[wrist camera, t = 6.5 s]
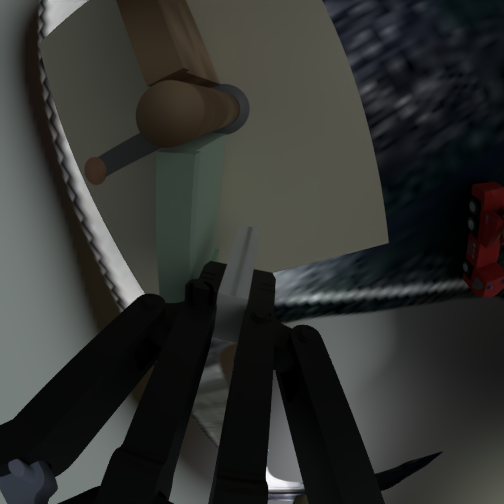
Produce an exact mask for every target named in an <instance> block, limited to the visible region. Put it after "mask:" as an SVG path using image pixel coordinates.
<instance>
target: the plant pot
mask: <svg viewBox="0 0 504 504" xmlns="http://www.w3.org/2000/svg"><path fill="white" fill-rule="evenodd" d="M293 504H309V503H308V500H307V496H306V495H298V496H296V498H295V499H294V501H293Z"/></svg>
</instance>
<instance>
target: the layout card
mask: <svg viewBox="0 0 504 504" xmlns="http://www.w3.org/2000/svg"><path fill="white" fill-rule="evenodd" d="M186 2H187V4H188V7H189V9H190V11H191V14H192V16H193V18H194V21H195V23H196V25H197V28H198V30H199V33H200V35H201V37H202V40H203V42H204V45H205V47H206V49H207V52H208V54H209V57H210V59H211V62H212V64H213V67H214V69H215V72H216V74H217V77H218V79H219V82H220V85H217V86H215V87H212V88H211V89H215V90H219V91H223V92H226V93H230V94H232V95H233V96H235V97H236V98H237V100H238V102H239V104H240V114H239V116H238V118H237V119H236V121H235V122H233V123H232V124H230V125H228V126H225V127H223V128H220V129H217V130H215V131H212V132H213V133H222V134H226V141H225V150H224V158H223V167H222V176H221V186H220V196H219V206H218V216H217V227H216V239H215V249H219V259H218V262H220V263H224V264H228V261H229V258H230V255H231V252H232V249H233V246H234V243H235V240H236V237H237V234H238V231H239V228H240V225H245V226H250V227H254V228H259V229H261V230H260V236H259V242H258V247H257V253H256V259H255V264H254V269H257V270H262V271H267V272H271V273H273V272H277V271H281V270H285V269H289V268H294V267H298V266H302V265H306V264H310V263H314V262H318V261H322V260H325V259H329V258H333V257H337V256H341V255H345V254H349V253H352V252H356V251H360V250H364V249H368V248H371V247H375V246H379V245H382V244H386V243H389V242H388V233H387V224H386V216H385V209H384V202H383V196H382V190H381V184H380V178H379V173H378V168H377V163H376V158H375V153H374V149H373V144H372V140H371V136H370V132H369V128H368V124H367V120H366V117H365V113H364V109H363V106H362V102H361V99H360V96H359V92H358V89H357V86H356V83H355V80H354V77H353V74H352V71H351V68H350V65H349V63H348V60H347V57H346V55H345V52H344V49H343V47H342V44H341V42H340V39H339V37H338V34H337V32H336V30H335V27H334V25H333V23H332V21H331V18H330V16H329V14H328V12H327V10H326V8H325V6H324V3H323V1H322V0H186ZM39 46H40V51H41V55H42V59H43V64H44V68H45V72H46V75H47V79H48V83H49V86H50V90H51V93H52V96H53V100H54V103H55V106H56V109H57V112H58V115H59V118H60V121H61V124H62V127H63V129H64V132H65V135H66V138H67V140H68V143H69V145H70V148H71V150H72V153H73V155H74V158H75V160H76V163H77V165H78V167H79V170H80V172H81V174H82V177H83V179H84V181H85V183H86V186H87V188H88V190H89V192H90V194H91V196H92V199H93V201H94V203H95V205H96V207H97V209H98V211H99V213H100V215H101V217H102V219H103V221H104V223H105V225H106V227H107V229H108V230H109V232H110V234H111V236H112V238H113V240H114V242H115V243H116V245H117V247H118V249H119V251H120V252H121V254H122V256H123V258H124V260H125V261H126V263H127V265H128V266H129V268H130V270H131V272H132V273H133V275H134V277H135V278H136V280H137V281H138V283H139V285H140V286H141V288H142V290H143V291H144V293H145V294H148V293H150V294H157V295H160V294H159V281H158V266H157V246H156V158H157V151H159V150H162V149H164V148H161V147H157V146H154V145H152V144H150V143H149V142H148V141H146V140H145V139H144V138H143V136H142V135H141V133H140V132H139V130H138V127H137V123H136V109H137V105H138V102H139V100H140V98H141V97H142V95H143V94H144V93H145V92H146V90H147V89H149V88H150V86H147V85H146V82H145V80H144V77H143V74H142V72H141V69H140V66H139V64H138V61H137V58H136V55H135V53H134V50H133V47H132V44H131V42H130V39H129V36H128V33H127V30H126V28H125V25H124V22H123V19H122V16H121V13H120V10H119V7H118V4H117V1H116V0H89V1H87V2H86V3H85V4H84V5H82V6H81V7H80V8H78V9H77V10H76V11H75V12H73V13H72V14H71V15H70V16H69V17H67V18H66V19H65V20H64V21H63V22H62V23H61V24H59V25H58V26H57V27H56V28H55V29H54V30H53V31H52V32H51V33H50V34H49V35H48V36H47V37H46V38H44V39H43V40H42V41H41V42H40V43H39ZM167 149H169V148H167Z"/></svg>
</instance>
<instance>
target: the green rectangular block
mask: <svg viewBox="0 0 504 504" xmlns="http://www.w3.org/2000/svg"><path fill="white" fill-rule="evenodd" d="M225 141H226V134H222V133H213V132H210V133H207V134H205V135H203V136H200V137H198V138H195V139H193V140H191V141H188V142H186V143H184V144H181V145H179V146H176V147H172V148H169V149H167V148H164V149H162V150H159V151H157V158H156V246H157V266H158V281H159V294H160V296H161V297H162V298H163V299H164V300H165V303H179V302H182V301H184V300H185V285H186V283H187V282H188V281H190V280H192V279H198V278H199V276H200V274H201V272H202V269H203V267H204V265H205V264H207V263H208V262H209V261H215V262H218V259H219V249H215V239H216V227H217V216H218V206H219V196H220V186H221V176H222V167H223V158H224V150H225Z"/></svg>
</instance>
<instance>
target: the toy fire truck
mask: <svg viewBox="0 0 504 504" xmlns="http://www.w3.org/2000/svg"><path fill="white" fill-rule="evenodd" d="M472 195H473V196H474V197H476V198H472V199H470V200H469V210H470V212H471V213H472V214H473V215H475V216H471V217H469V218H468V221H467V225H468V228H469V230H470V231H471V232H470V233H469V236H468V244H467V252H466V258H467V260H464V261H463V264H462V268H463V271H464V273H463V279H464V281H465V282H466V283H467V285H468V286H469V287H471V290H472V291H473V292H474V293H475V294H476V295H478V296H479V297H483V298H489V297H493V296H494V295H496V294H497V293H499V292H500V291H501V290H502V289H503V287H504V270H503V269H502V268H501V267H500V266H499V265H498V264H497V258H498V254H499V248H500V244H504V186H502V185H500V184H498V183H496V182H494V181H492V182H486V183H479V184H473V185H472Z"/></svg>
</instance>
